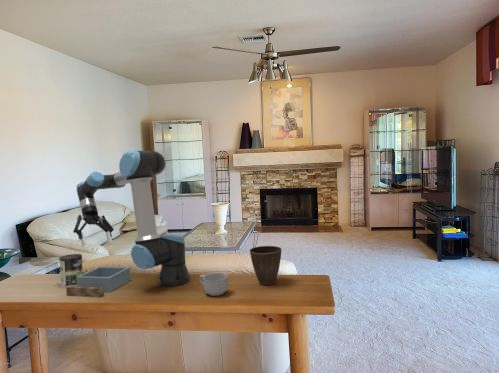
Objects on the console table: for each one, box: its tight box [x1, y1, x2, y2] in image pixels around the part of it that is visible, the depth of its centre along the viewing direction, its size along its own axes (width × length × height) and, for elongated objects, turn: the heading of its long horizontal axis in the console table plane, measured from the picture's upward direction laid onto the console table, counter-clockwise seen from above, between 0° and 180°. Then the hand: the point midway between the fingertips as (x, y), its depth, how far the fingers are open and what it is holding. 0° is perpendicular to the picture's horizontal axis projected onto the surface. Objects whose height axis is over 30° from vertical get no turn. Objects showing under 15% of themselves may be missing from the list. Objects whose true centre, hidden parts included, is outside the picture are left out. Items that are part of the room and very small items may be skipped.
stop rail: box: [65, 286, 105, 298], centre depth 166 cm, size 18×2×4 cm, turn 77°
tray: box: [76, 266, 131, 293], centre depth 180 cm, size 17×17×6 cm
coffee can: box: [58, 253, 84, 288], centre depth 185 cm, size 10×10×14 cm
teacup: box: [199, 271, 229, 297], centre depth 163 cm, size 14×11×8 cm
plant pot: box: [249, 245, 282, 286], centre depth 174 cm, size 15×15×16 cm
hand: (97, 244), depth 186 cm, fingers open, 13 cm apart
